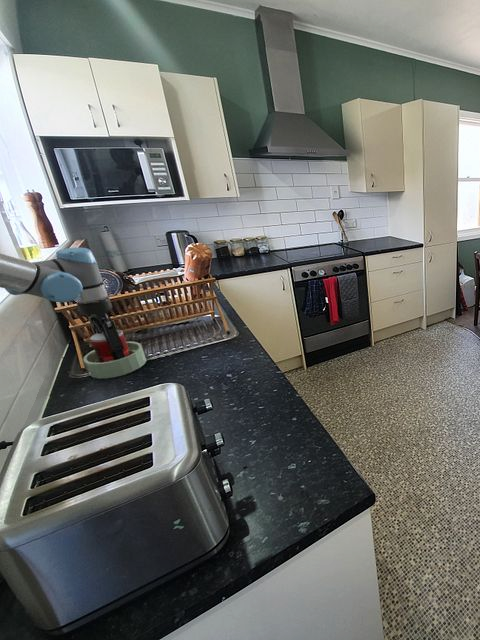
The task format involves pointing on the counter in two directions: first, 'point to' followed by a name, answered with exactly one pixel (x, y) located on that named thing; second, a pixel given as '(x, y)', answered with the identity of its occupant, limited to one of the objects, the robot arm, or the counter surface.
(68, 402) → the counter surface
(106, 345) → the canned food
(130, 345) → the bowl
